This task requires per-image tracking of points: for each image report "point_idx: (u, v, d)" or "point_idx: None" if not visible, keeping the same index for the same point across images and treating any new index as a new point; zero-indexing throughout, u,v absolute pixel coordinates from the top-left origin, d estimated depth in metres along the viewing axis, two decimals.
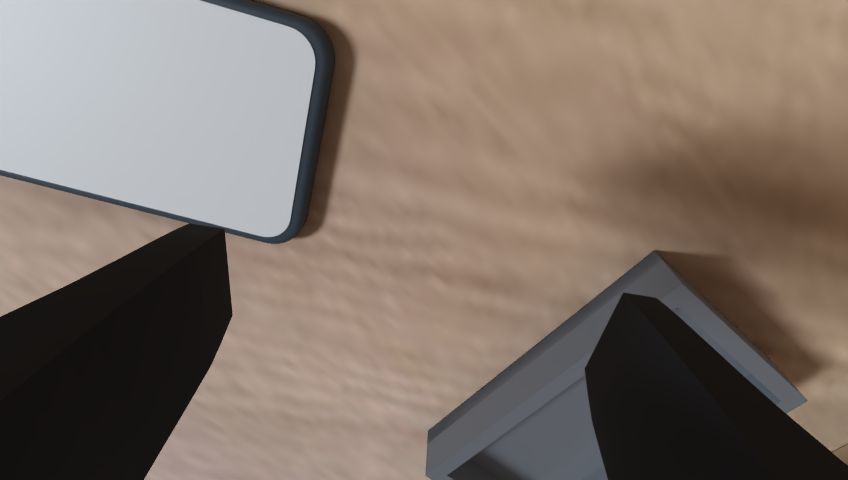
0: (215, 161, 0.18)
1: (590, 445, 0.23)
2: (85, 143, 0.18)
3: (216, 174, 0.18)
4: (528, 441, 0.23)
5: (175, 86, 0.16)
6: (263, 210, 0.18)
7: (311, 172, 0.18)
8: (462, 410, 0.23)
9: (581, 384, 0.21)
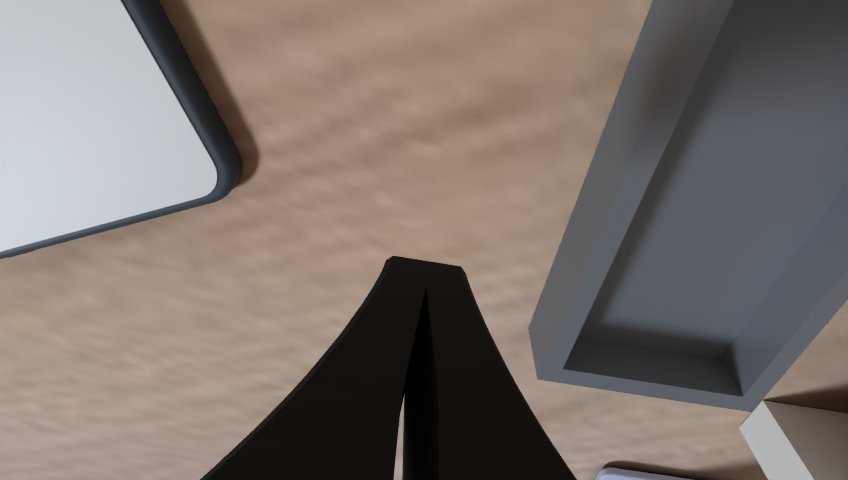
0: (101, 140, 0.15)
1: (745, 254, 0.16)
2: None
3: (113, 154, 0.15)
4: (653, 286, 0.17)
5: (5, 80, 0.14)
6: (181, 166, 0.15)
7: (193, 92, 0.14)
8: (548, 287, 0.17)
9: (683, 177, 0.14)
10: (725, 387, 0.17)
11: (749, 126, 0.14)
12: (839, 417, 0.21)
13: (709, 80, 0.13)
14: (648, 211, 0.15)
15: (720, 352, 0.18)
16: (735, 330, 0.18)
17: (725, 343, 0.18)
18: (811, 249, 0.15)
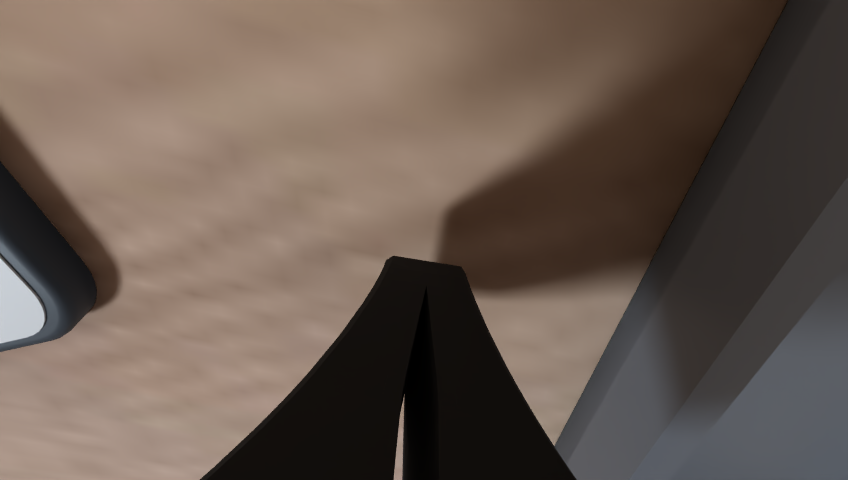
0: None
1: None
2: None
3: None
4: (723, 457, 0.11)
5: None
6: None
7: None
8: (564, 449, 0.12)
9: None
10: None
11: None
12: None
13: None
14: None
15: None
16: None
17: None
18: None
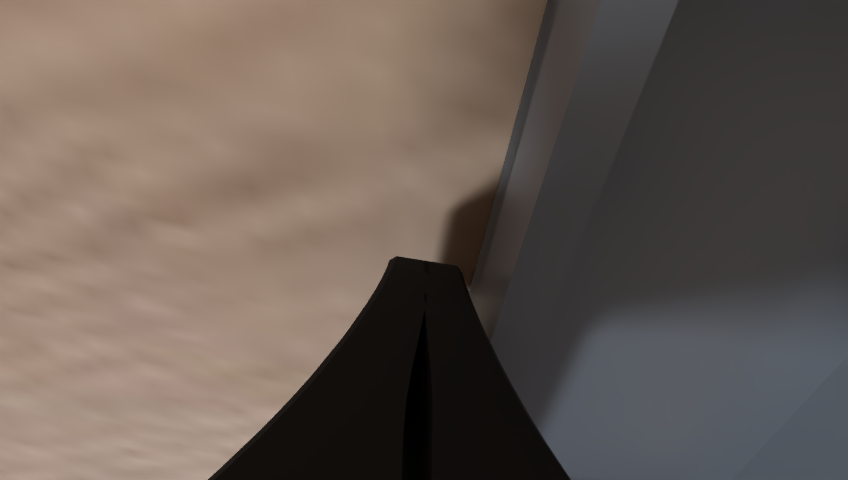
0: None
1: (726, 400, 0.10)
2: None
3: None
4: (587, 436, 0.11)
5: None
6: None
7: None
8: None
9: (620, 296, 0.09)
10: None
11: (727, 222, 0.08)
12: None
13: (653, 147, 0.07)
14: (569, 342, 0.09)
15: None
16: None
17: None
18: (831, 404, 0.09)
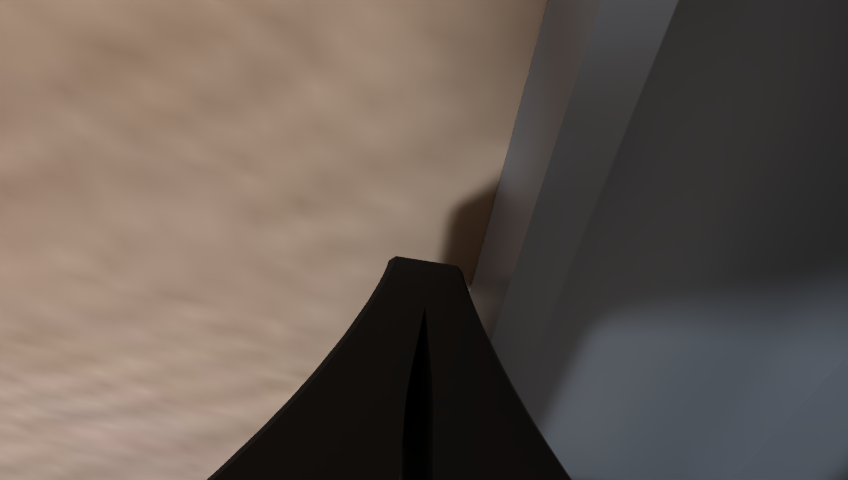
0: None
1: (727, 398, 0.10)
2: None
3: None
4: (589, 435, 0.11)
5: None
6: None
7: None
8: None
9: (621, 293, 0.09)
10: None
11: (729, 219, 0.08)
12: None
13: (655, 144, 0.07)
14: (570, 340, 0.09)
15: None
16: None
17: None
18: (832, 401, 0.09)
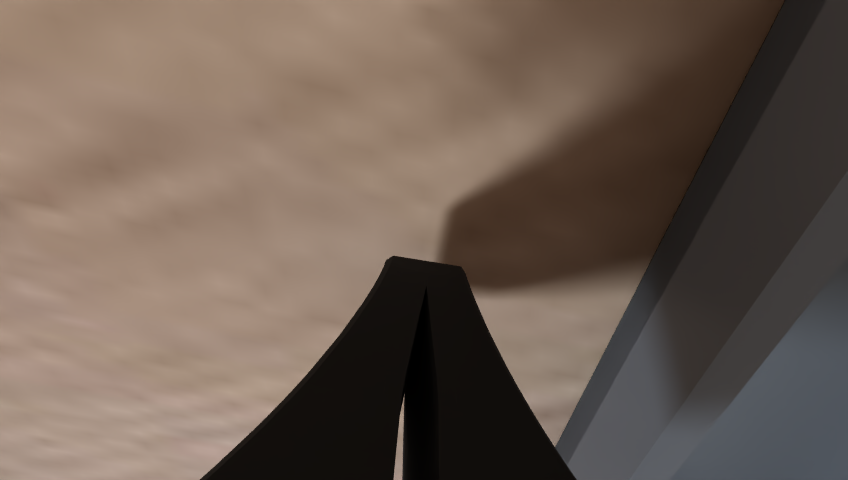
0: None
1: None
2: None
3: None
4: (726, 454, 0.11)
5: None
6: None
7: None
8: (567, 446, 0.12)
9: None
10: None
11: None
12: None
13: None
14: None
15: None
16: None
17: None
18: None
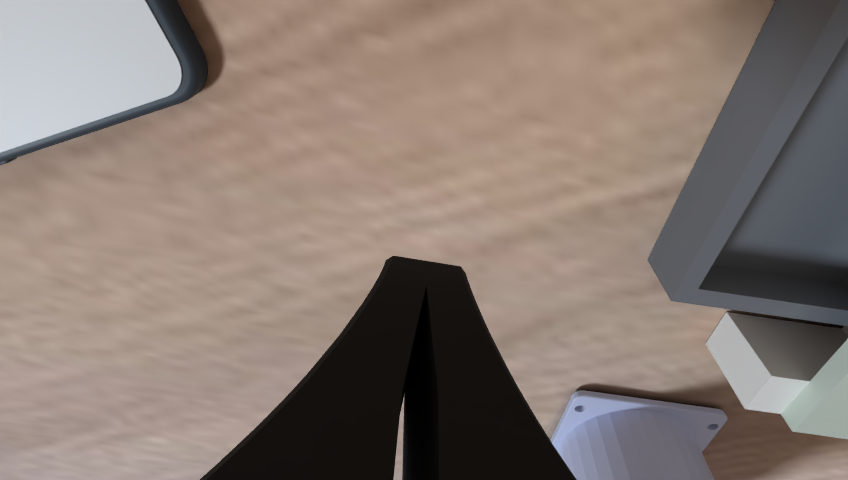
0: (68, 36, 0.15)
1: None
2: None
3: (80, 51, 0.15)
4: (785, 207, 0.17)
5: None
6: (146, 62, 0.16)
7: None
8: (677, 213, 0.18)
9: (832, 89, 0.15)
10: None
11: None
12: (802, 327, 0.21)
13: None
14: (792, 127, 0.16)
15: (841, 276, 0.19)
16: None
17: None
18: None
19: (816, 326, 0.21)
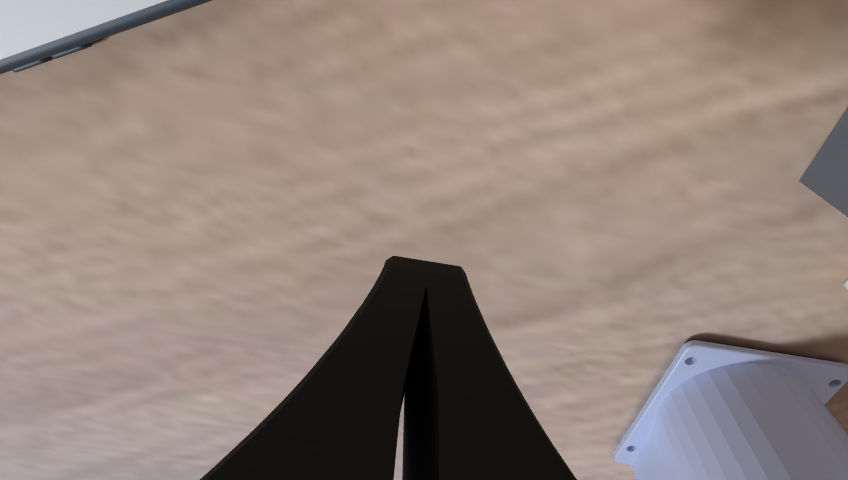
0: None
1: None
2: None
3: None
4: None
5: None
6: None
7: None
8: None
9: None
10: None
11: None
12: None
13: None
14: None
15: None
16: None
17: None
18: None
19: None
